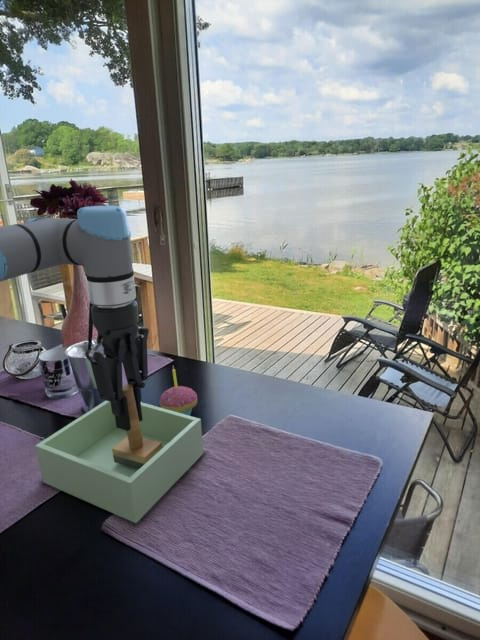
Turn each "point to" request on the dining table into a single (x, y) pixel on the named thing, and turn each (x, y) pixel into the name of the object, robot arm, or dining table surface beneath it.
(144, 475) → the tub
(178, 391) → the cupcake
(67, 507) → the dining table surface
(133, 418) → the wooden stamp
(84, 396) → the tall metal cup
